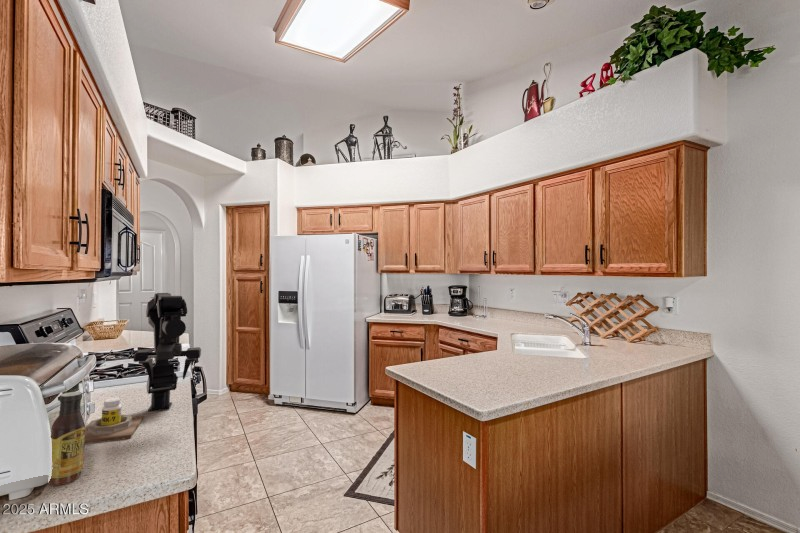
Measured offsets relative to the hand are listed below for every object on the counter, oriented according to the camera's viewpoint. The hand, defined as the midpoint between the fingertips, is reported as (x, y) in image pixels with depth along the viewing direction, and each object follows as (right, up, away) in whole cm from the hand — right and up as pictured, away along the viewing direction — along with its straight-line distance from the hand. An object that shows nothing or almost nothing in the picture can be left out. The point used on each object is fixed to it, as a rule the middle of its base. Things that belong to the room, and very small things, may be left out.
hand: (167, 380), depth 126 cm
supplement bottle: (-11, -12, -10) cm, 19 cm away
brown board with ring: (-11, -13, -10) cm, 20 cm away
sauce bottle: (-1, -12, -37) cm, 39 cm away
